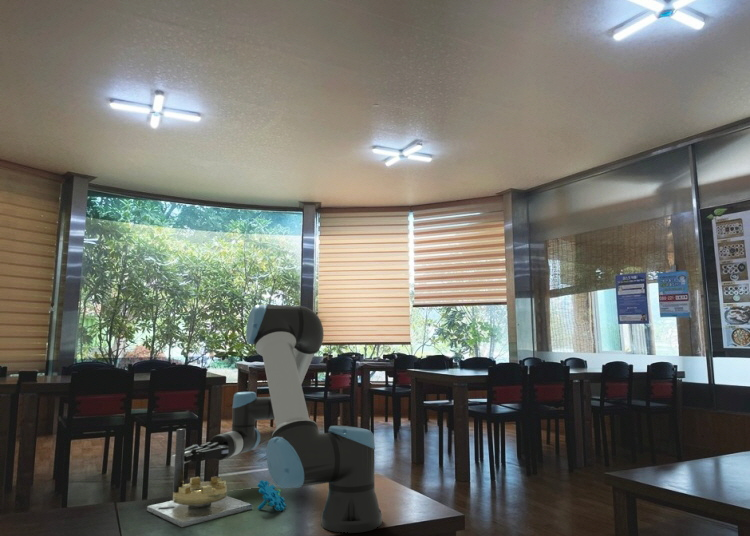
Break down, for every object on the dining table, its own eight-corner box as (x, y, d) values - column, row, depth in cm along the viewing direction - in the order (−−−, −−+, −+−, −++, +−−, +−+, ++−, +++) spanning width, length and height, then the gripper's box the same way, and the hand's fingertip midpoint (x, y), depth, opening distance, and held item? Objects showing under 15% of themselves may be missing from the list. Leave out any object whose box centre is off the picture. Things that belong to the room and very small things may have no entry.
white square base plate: (251, 509, 139) (251, 498, 139) (181, 527, 124) (182, 515, 125) (214, 495, 152) (214, 485, 153) (147, 510, 138) (147, 499, 138)
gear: (278, 510, 132) (255, 479, 136) (262, 526, 132) (240, 496, 135) (293, 504, 142) (272, 476, 146) (278, 519, 142) (257, 491, 146)
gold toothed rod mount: (217, 488, 148) (220, 422, 151) (233, 499, 137) (236, 428, 140) (166, 495, 140) (170, 426, 144) (178, 508, 129) (182, 432, 132)
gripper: (242, 459, 157) (191, 477, 135) (207, 456, 161) (153, 473, 139) (243, 434, 158) (193, 448, 136) (208, 432, 162) (154, 445, 140)
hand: (173, 461), depth 137 cm, fingers closed
